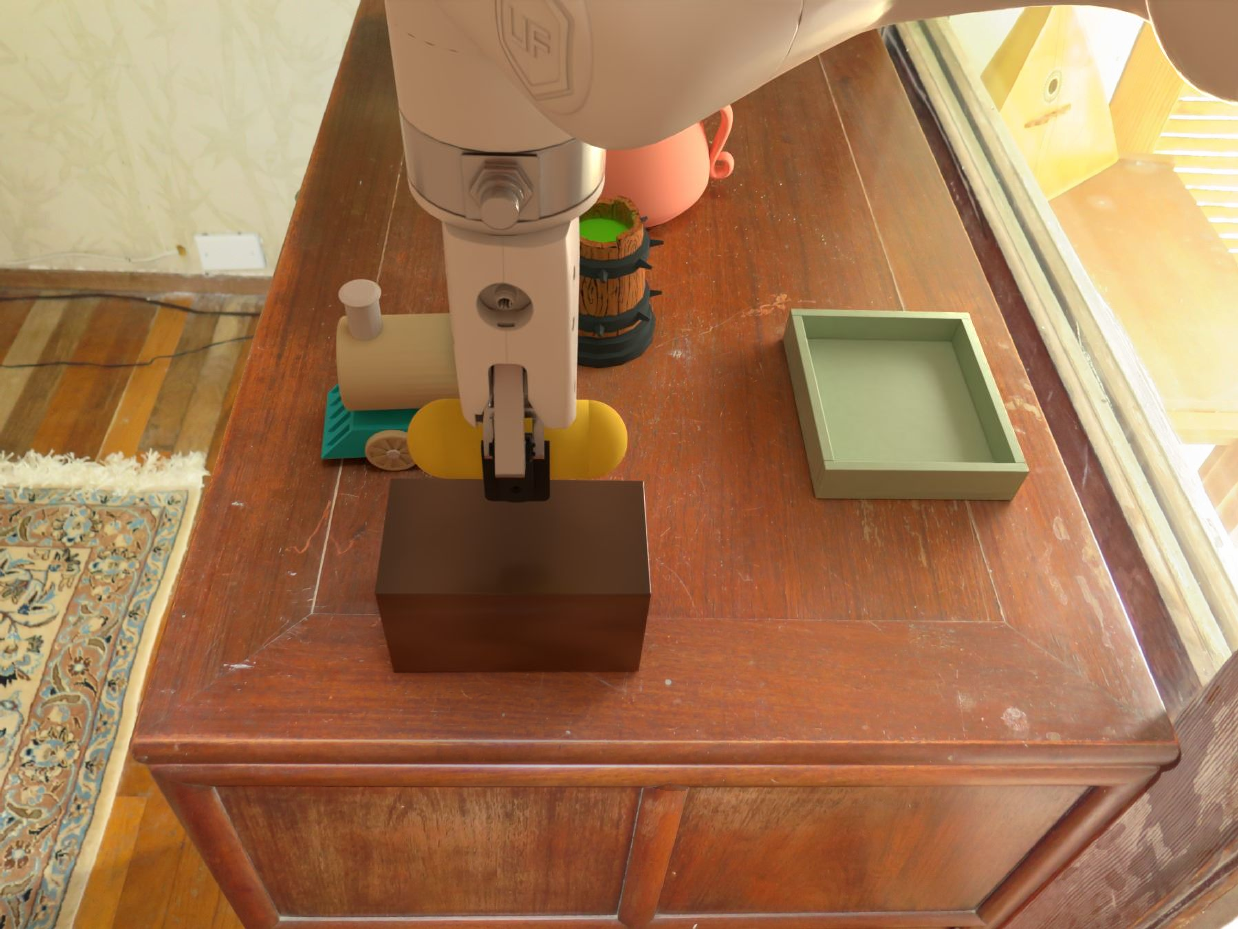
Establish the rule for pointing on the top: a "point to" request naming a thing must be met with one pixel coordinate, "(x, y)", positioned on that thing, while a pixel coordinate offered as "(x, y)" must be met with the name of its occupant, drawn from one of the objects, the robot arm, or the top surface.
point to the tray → (900, 407)
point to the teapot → (668, 171)
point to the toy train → (384, 377)
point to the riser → (514, 577)
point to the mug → (614, 284)
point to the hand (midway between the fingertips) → (519, 458)
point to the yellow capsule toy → (574, 452)
